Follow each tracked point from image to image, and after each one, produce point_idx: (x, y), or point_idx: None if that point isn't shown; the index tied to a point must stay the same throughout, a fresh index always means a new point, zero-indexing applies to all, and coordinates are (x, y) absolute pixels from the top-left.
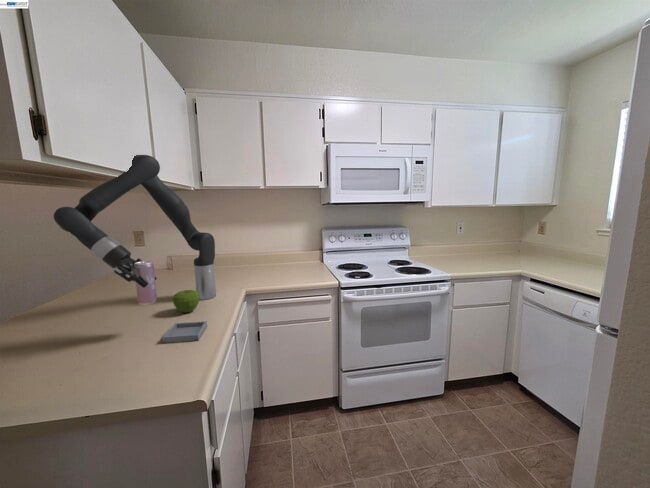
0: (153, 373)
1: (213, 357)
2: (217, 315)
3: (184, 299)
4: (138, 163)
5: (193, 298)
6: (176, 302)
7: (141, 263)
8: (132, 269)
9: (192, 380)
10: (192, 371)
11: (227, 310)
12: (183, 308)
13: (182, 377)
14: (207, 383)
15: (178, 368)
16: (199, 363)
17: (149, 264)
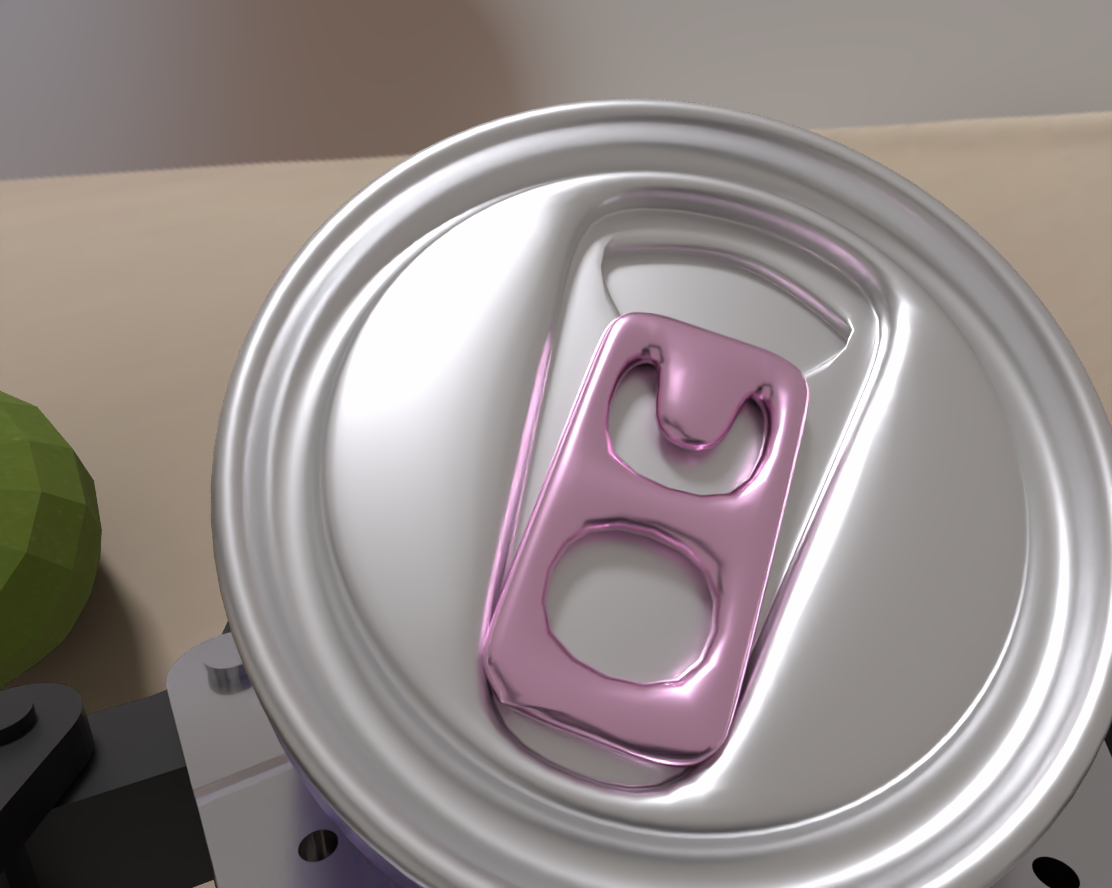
0: (1100, 380)
1: (893, 141)
2: (223, 269)
3: (58, 490)
4: None
5: (23, 407)
6: (55, 608)
7: (793, 494)
8: (1099, 796)
9: (1105, 175)
10: (1037, 198)
11: (114, 218)
12: (97, 558)
13: (1095, 225)
14: (1108, 113)
15: (1027, 272)
16: (961, 189)
17: (768, 167)
